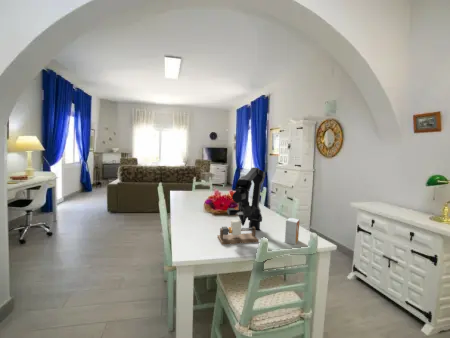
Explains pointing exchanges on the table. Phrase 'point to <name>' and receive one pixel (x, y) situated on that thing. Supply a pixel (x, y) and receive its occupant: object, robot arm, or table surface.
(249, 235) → the rod stand
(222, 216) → the table surface
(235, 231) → the sleeve
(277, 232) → the table surface
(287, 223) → the small box
